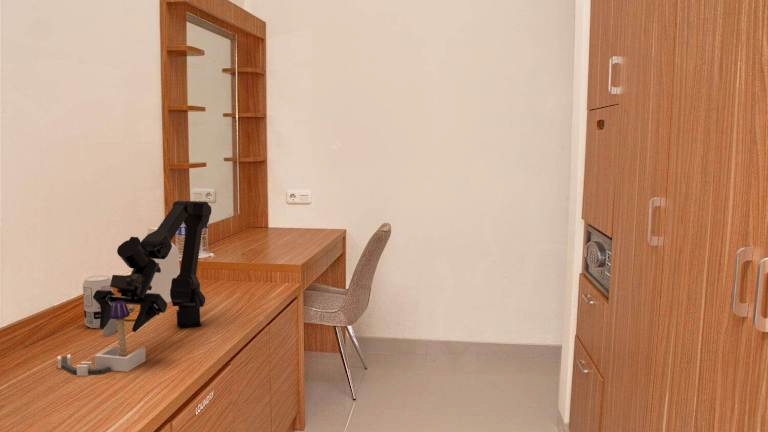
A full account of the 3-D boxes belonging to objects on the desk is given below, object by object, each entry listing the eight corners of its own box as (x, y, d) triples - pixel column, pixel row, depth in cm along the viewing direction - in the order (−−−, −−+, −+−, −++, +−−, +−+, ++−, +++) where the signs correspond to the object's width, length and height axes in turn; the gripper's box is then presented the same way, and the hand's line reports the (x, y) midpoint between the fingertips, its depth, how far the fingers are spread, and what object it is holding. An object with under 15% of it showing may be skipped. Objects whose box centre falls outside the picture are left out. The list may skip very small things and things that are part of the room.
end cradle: (115, 357, 160) (114, 344, 160) (145, 360, 158) (145, 347, 158) (95, 368, 152) (94, 355, 152) (127, 371, 151) (126, 358, 150)
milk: (182, 298, 219) (180, 228, 215) (156, 305, 209) (153, 232, 205) (160, 293, 225) (157, 225, 221) (133, 300, 215) (130, 229, 212)
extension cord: (166, 309, 207) (165, 303, 207) (147, 323, 191) (147, 317, 191) (131, 308, 207) (130, 302, 207) (109, 322, 191) (109, 316, 191)
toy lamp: (114, 368, 153) (110, 304, 151) (111, 362, 157) (107, 300, 155) (134, 364, 156) (131, 302, 153) (130, 358, 159) (127, 297, 157)
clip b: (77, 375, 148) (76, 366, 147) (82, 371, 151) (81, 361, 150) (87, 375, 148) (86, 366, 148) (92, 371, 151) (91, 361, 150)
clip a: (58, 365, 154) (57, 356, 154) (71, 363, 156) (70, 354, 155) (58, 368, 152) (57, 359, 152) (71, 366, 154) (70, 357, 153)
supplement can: (91, 321, 191) (88, 275, 189) (118, 320, 191) (115, 275, 190) (80, 329, 183) (78, 281, 181) (108, 329, 183) (106, 281, 181)
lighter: (108, 336, 177) (107, 310, 176) (103, 336, 177) (101, 309, 176) (122, 328, 184) (121, 303, 183) (117, 328, 184) (116, 303, 183)
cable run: (65, 359, 158) (65, 355, 158) (111, 371, 151) (111, 367, 151) (45, 366, 153) (45, 362, 153) (92, 379, 146) (91, 375, 146)
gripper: (95, 259, 158) (68, 312, 149) (159, 263, 154) (135, 317, 145) (115, 281, 167) (91, 332, 158) (176, 286, 163) (155, 338, 154)
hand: (117, 330), depth 153 cm, fingers open, 9 cm apart
